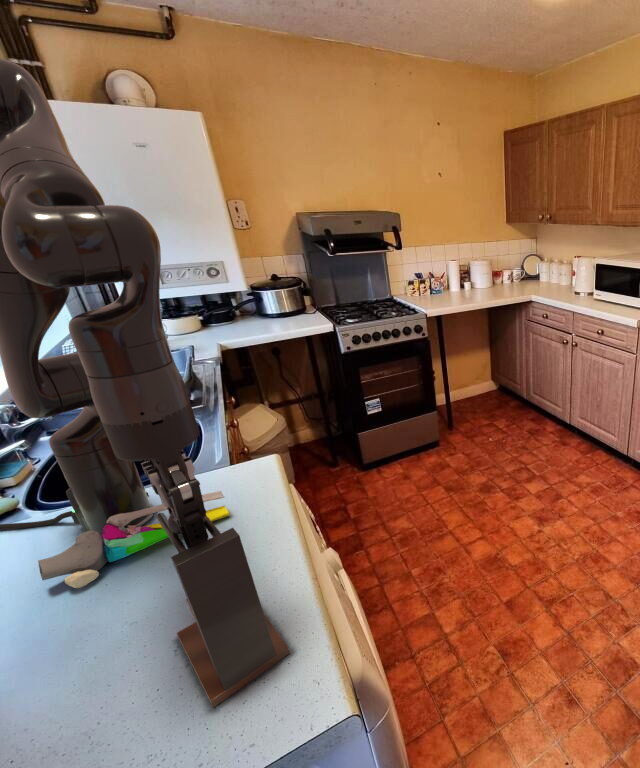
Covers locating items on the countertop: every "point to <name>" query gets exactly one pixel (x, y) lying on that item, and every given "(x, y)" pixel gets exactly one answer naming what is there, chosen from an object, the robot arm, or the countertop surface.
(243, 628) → the upright panel stand
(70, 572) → the knee model
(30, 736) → the countertop surface
